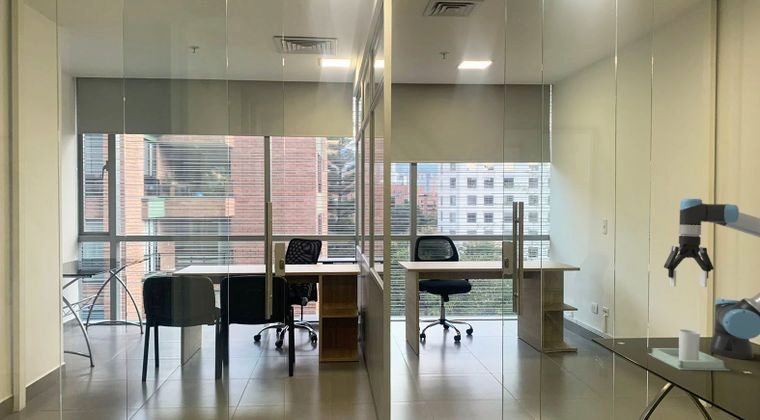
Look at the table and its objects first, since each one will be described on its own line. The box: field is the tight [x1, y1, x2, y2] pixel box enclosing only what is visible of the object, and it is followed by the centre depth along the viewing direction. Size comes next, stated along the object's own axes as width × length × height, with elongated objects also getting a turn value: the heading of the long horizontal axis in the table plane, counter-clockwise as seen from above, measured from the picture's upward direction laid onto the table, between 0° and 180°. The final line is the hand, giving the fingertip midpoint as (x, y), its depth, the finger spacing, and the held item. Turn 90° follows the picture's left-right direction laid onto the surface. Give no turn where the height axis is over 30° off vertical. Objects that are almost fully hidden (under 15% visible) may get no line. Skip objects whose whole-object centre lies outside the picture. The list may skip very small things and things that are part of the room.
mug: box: [678, 329, 701, 361], centre depth 177 cm, size 10×7×12 cm, turn 148°
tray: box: [647, 347, 731, 372], centre depth 177 cm, size 20×18×3 cm
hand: (687, 286), depth 187 cm, fingers open, 13 cm apart
